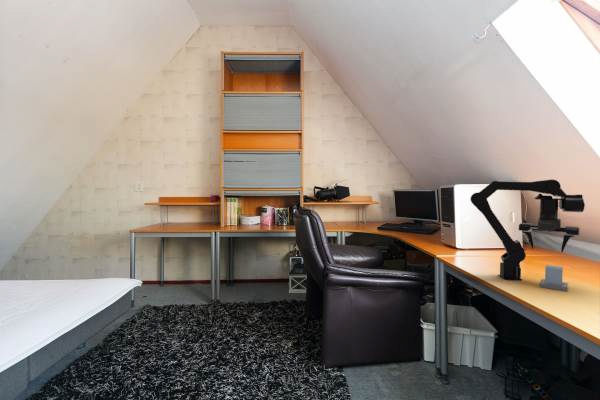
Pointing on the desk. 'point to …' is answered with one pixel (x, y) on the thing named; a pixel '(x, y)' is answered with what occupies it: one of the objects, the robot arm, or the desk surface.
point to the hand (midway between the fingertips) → (547, 250)
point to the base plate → (552, 286)
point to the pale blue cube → (553, 275)
